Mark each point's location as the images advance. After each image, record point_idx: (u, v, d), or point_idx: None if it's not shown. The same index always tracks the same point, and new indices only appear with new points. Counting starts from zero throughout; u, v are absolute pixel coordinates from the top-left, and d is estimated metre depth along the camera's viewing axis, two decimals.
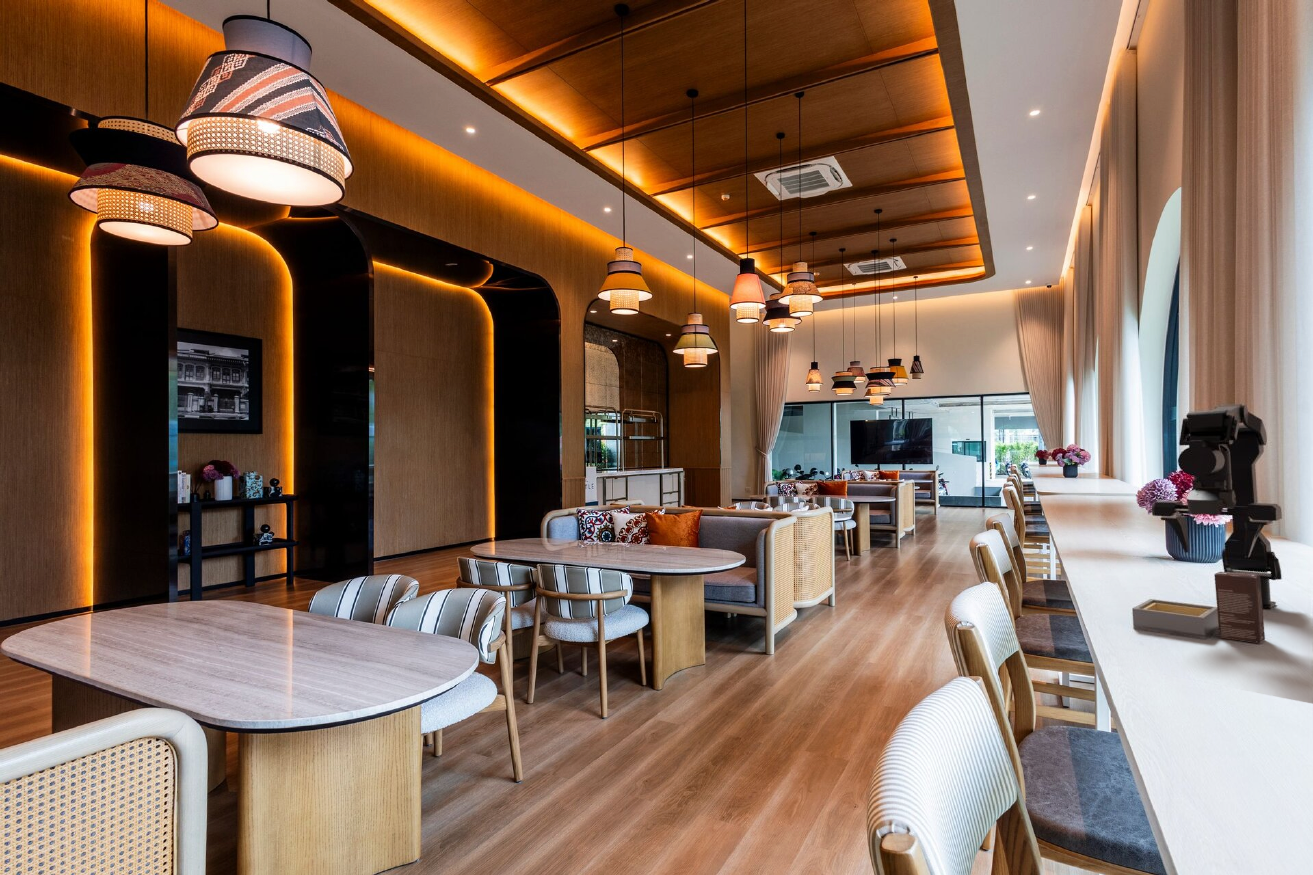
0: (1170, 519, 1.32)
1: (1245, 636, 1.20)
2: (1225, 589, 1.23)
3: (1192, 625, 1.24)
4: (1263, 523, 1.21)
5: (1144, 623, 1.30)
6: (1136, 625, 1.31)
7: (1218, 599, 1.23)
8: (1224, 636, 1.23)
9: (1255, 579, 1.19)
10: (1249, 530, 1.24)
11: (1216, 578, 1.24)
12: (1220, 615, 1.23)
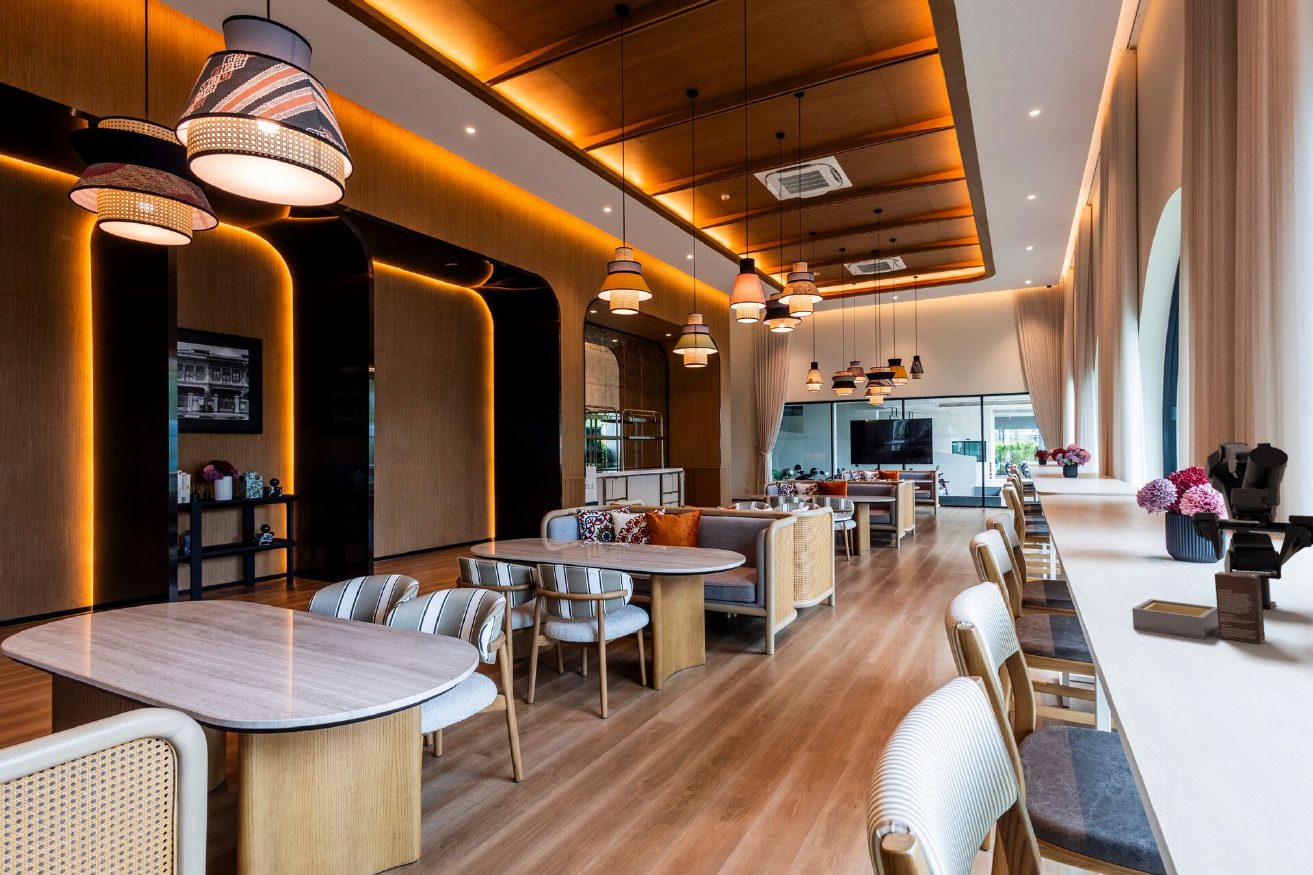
0: (1209, 522, 1.34)
1: (1245, 636, 1.20)
2: (1225, 589, 1.23)
3: (1192, 625, 1.24)
4: (1303, 527, 1.23)
5: (1144, 623, 1.30)
6: (1136, 625, 1.31)
7: (1218, 599, 1.23)
8: (1224, 636, 1.23)
9: (1255, 579, 1.19)
10: (1287, 536, 1.25)
11: (1216, 578, 1.24)
12: (1220, 615, 1.23)
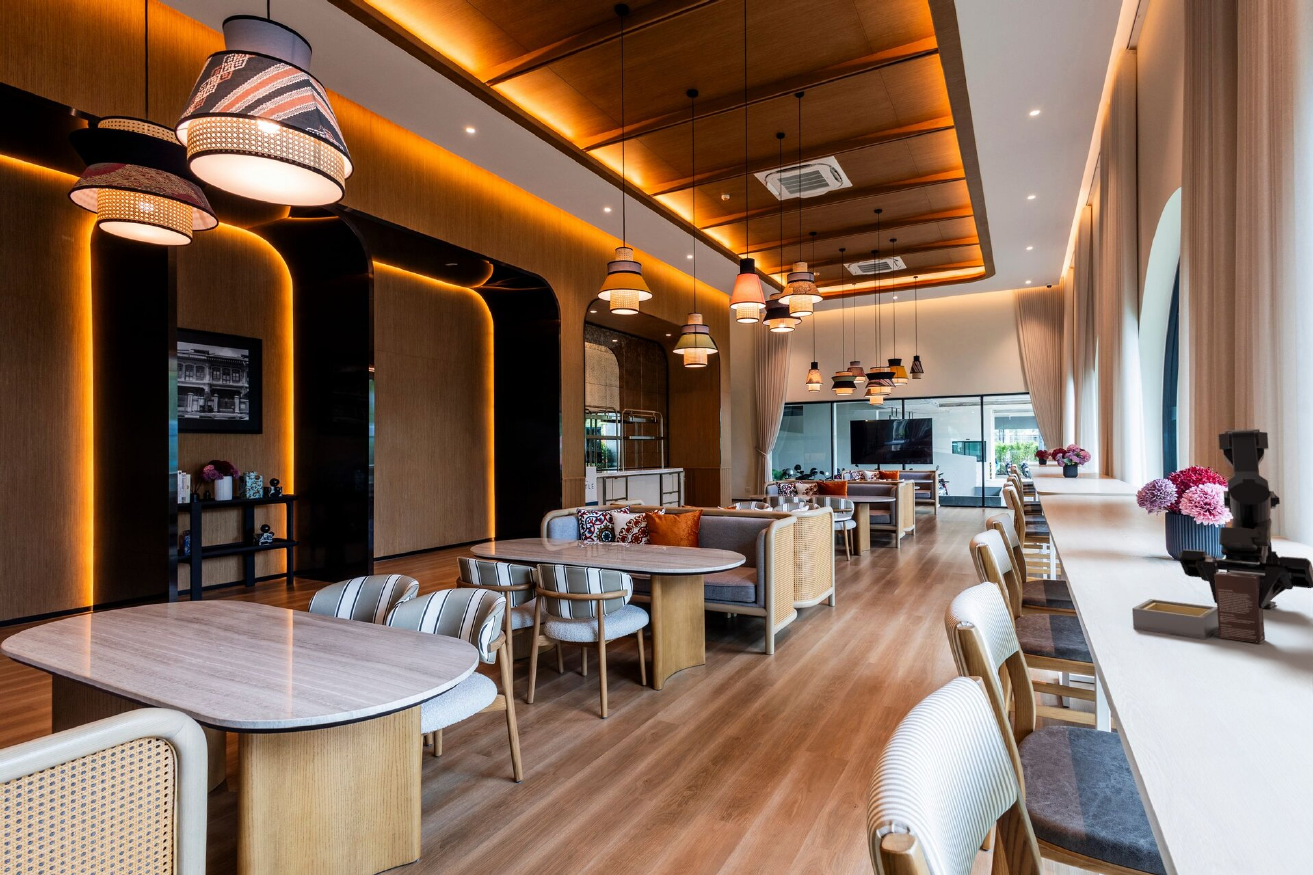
0: (1206, 562, 1.27)
1: (1245, 635, 1.20)
2: (1225, 589, 1.23)
3: (1192, 625, 1.24)
4: (1283, 569, 1.19)
5: (1144, 623, 1.30)
6: (1136, 625, 1.31)
7: (1218, 599, 1.23)
8: (1224, 636, 1.23)
9: (1255, 579, 1.19)
10: (1267, 578, 1.20)
11: (1216, 578, 1.24)
12: (1220, 615, 1.23)
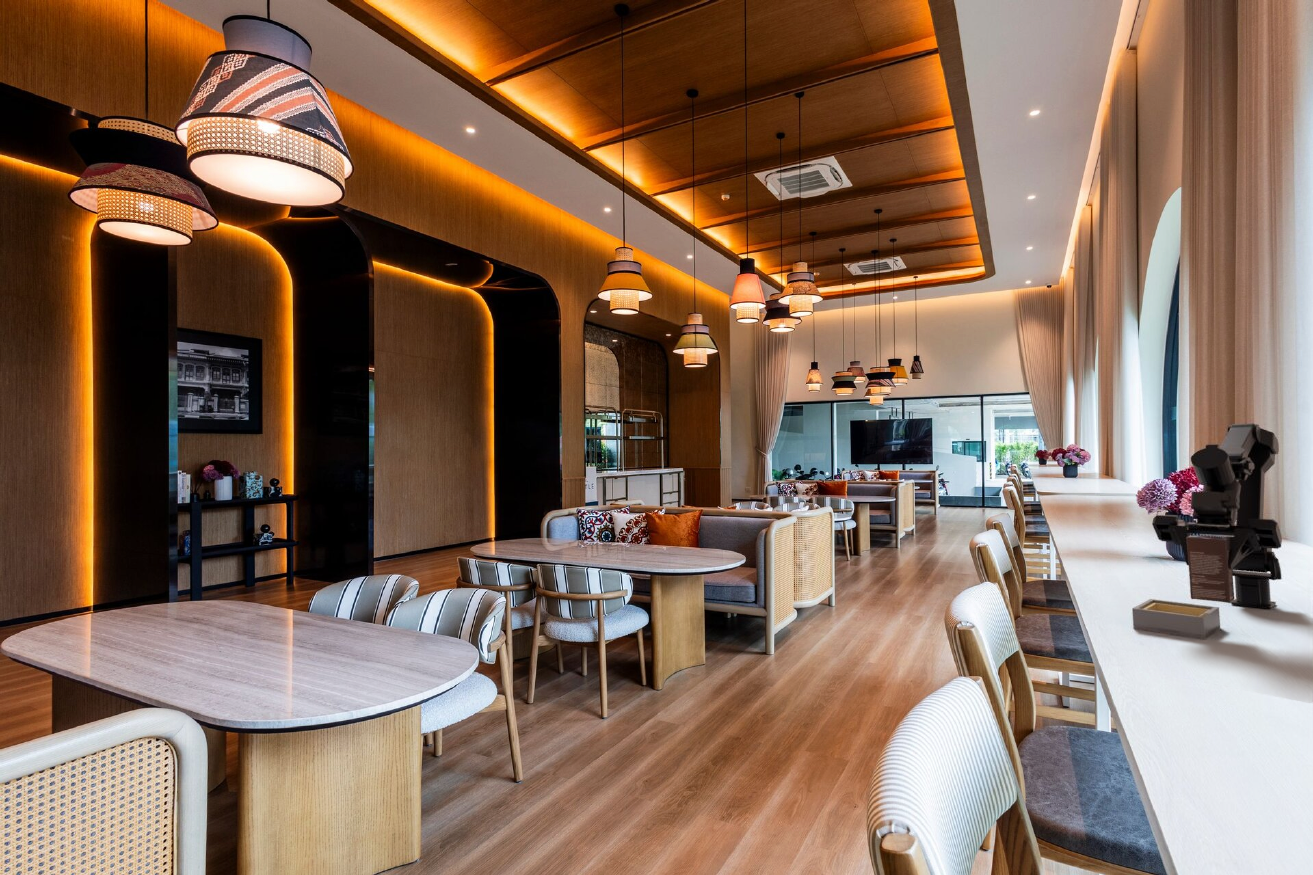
0: (1178, 526, 1.31)
1: (1216, 596, 1.24)
2: (1196, 551, 1.26)
3: (1192, 625, 1.24)
4: (1252, 530, 1.22)
5: (1144, 623, 1.30)
6: (1136, 625, 1.31)
7: (1190, 561, 1.27)
8: (1195, 597, 1.26)
9: (1225, 541, 1.23)
10: (1236, 540, 1.24)
11: (1188, 541, 1.27)
12: (1192, 577, 1.27)
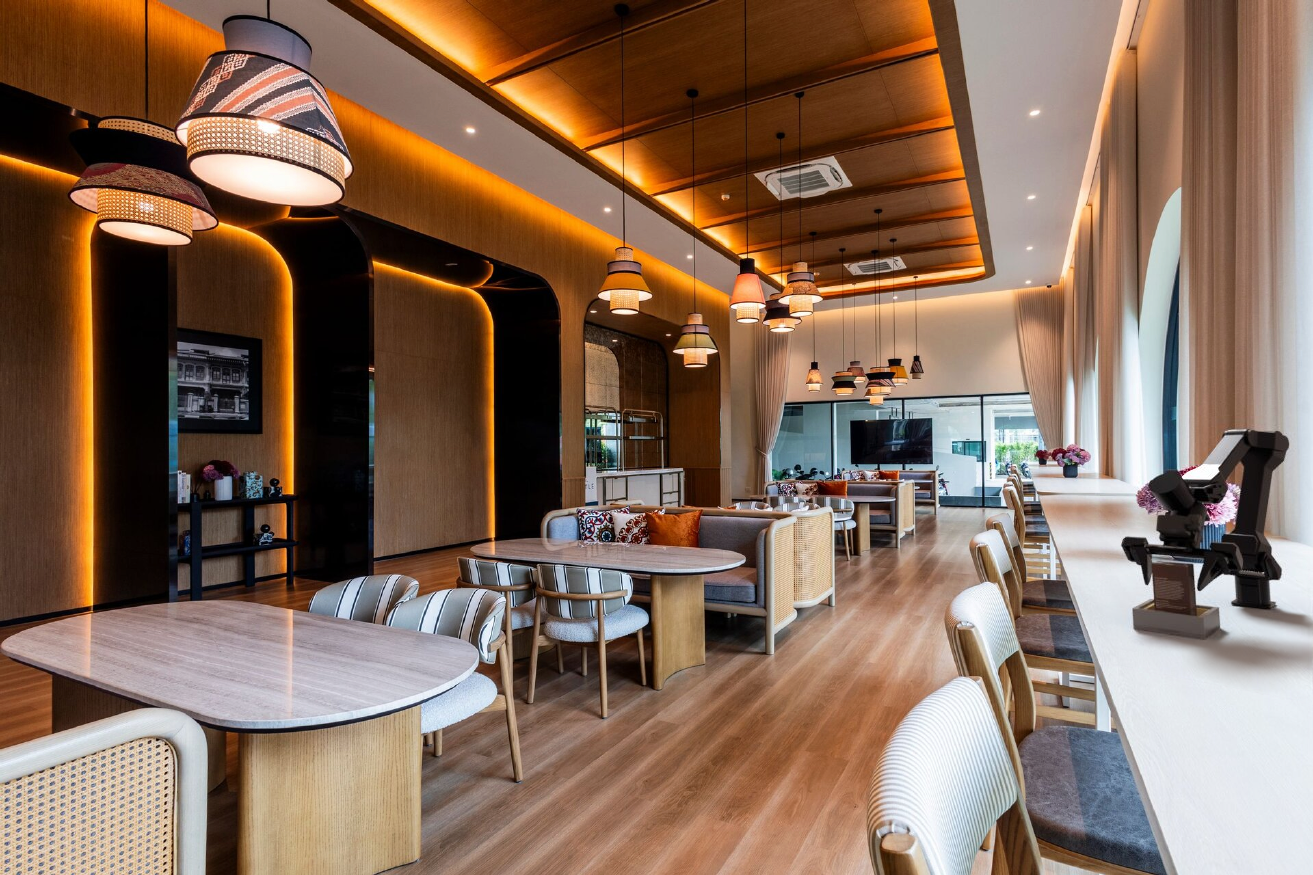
0: (1139, 547, 1.37)
1: None
2: (1160, 577, 1.31)
3: (1192, 625, 1.24)
4: (1220, 554, 1.26)
5: (1144, 623, 1.30)
6: (1136, 625, 1.31)
7: (1154, 586, 1.32)
8: None
9: (1187, 567, 1.28)
10: (1206, 563, 1.28)
11: (1153, 567, 1.32)
12: (1156, 601, 1.32)
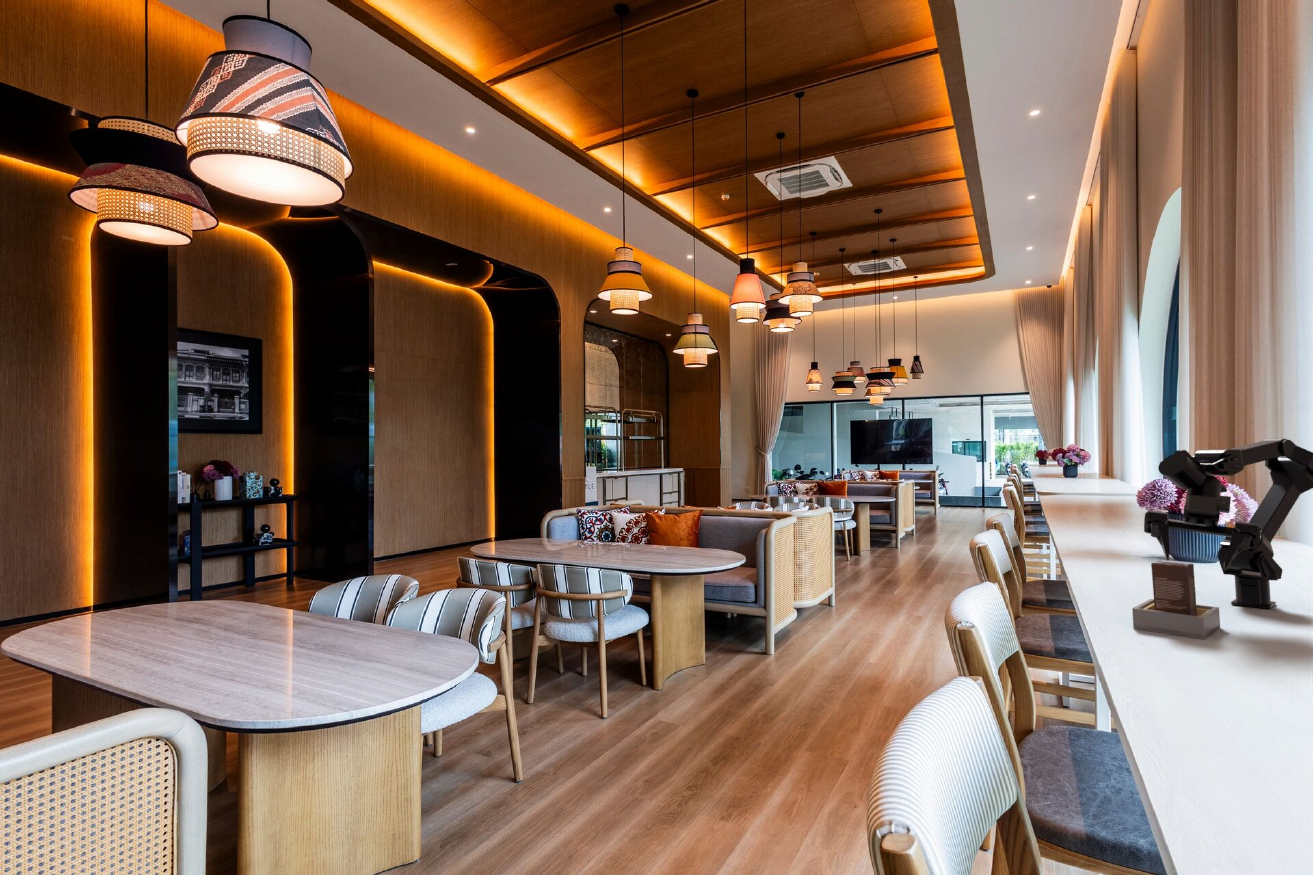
0: (1161, 523, 1.41)
1: None
2: (1160, 577, 1.31)
3: (1192, 625, 1.24)
4: (1248, 535, 1.32)
5: (1144, 623, 1.30)
6: (1136, 625, 1.31)
7: (1154, 586, 1.32)
8: None
9: (1186, 568, 1.28)
10: (1233, 543, 1.34)
11: (1152, 567, 1.32)
12: (1156, 601, 1.32)
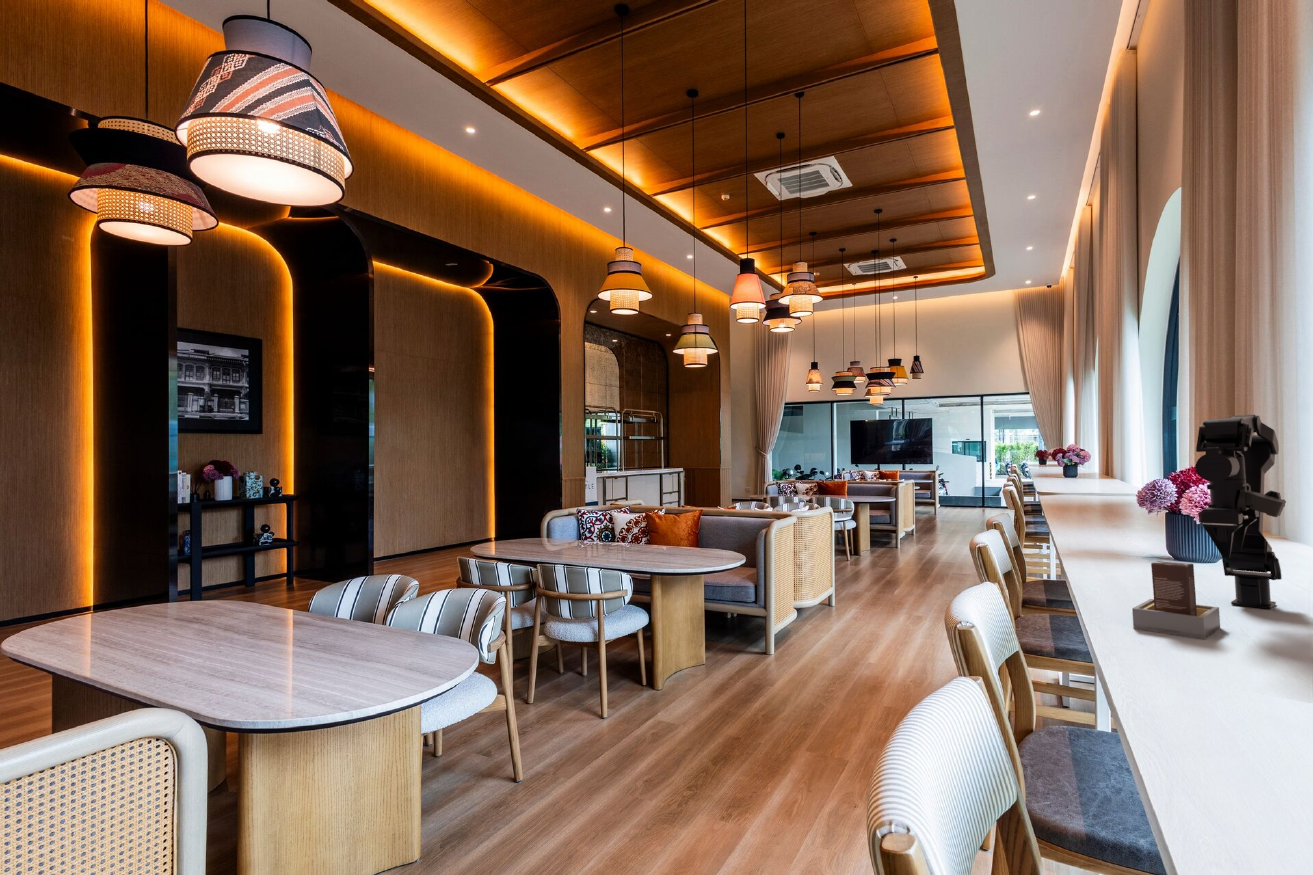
0: (1240, 526, 1.30)
1: None
2: (1160, 577, 1.31)
3: (1192, 625, 1.24)
4: None
5: (1144, 623, 1.30)
6: (1136, 625, 1.31)
7: (1154, 586, 1.32)
8: None
9: (1186, 568, 1.28)
10: (1246, 527, 1.39)
11: (1152, 567, 1.32)
12: (1156, 601, 1.32)
